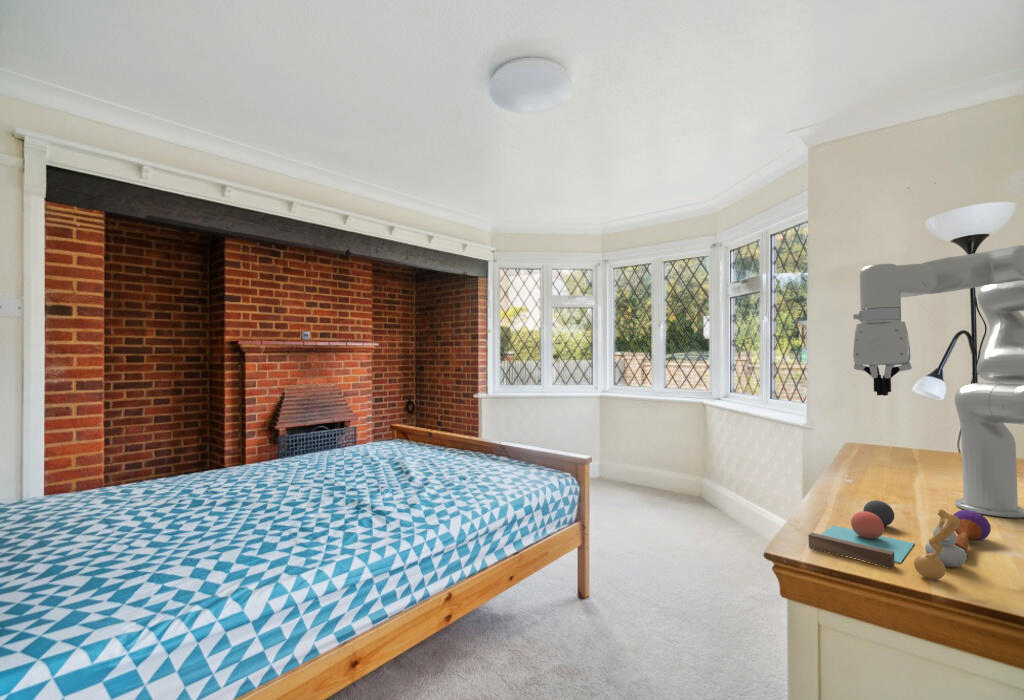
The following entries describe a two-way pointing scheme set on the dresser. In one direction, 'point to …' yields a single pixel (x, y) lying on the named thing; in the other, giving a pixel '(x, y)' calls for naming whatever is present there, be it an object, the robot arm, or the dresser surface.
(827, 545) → the walnut rail
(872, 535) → the red ball
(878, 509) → the dark gray ball
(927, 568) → the figurine
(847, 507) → the dresser surface
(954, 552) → the gray statuette
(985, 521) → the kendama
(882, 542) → the teal mark
